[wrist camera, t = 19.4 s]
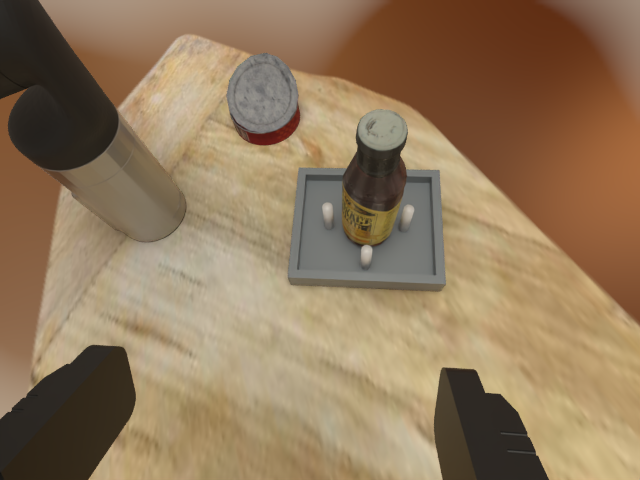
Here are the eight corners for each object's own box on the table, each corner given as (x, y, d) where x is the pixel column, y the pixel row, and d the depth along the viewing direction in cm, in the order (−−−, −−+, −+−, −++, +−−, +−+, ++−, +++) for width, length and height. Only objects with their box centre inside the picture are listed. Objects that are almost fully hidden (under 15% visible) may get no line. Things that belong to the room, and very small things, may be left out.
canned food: (303, 126, 65) (326, 95, 55) (262, 166, 61) (281, 140, 52) (250, 74, 63) (266, 33, 54) (205, 112, 59) (214, 75, 50)
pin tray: (291, 284, 49) (282, 267, 43) (301, 179, 55) (295, 151, 49) (440, 291, 48) (453, 274, 42) (434, 182, 54) (445, 154, 48)
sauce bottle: (332, 220, 51) (322, 115, 32) (373, 196, 52) (386, 80, 33) (361, 261, 48) (368, 172, 30) (404, 235, 49) (435, 133, 31)
